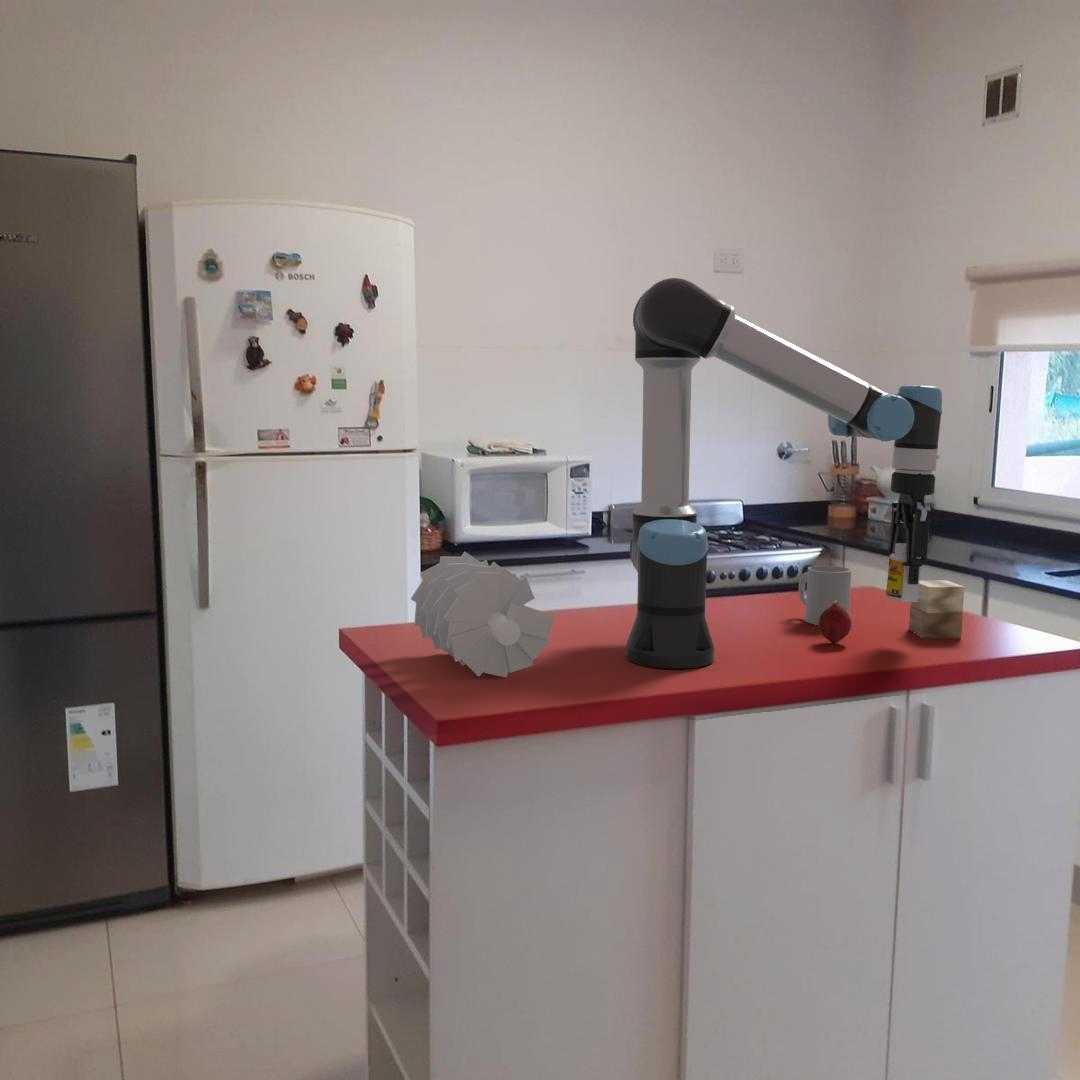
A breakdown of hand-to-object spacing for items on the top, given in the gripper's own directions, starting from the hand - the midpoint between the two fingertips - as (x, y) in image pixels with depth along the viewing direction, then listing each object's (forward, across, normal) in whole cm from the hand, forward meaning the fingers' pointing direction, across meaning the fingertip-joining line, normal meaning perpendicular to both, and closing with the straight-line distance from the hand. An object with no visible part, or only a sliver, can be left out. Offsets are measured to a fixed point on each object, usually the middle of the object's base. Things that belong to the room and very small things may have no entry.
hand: (903, 597), depth 201 cm
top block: (+4, +9, -10) cm, 14 cm away
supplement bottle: (+1, 0, 0) cm, 1 cm away
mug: (+9, +20, +9) cm, 24 cm away
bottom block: (+9, +9, -10) cm, 16 cm away
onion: (+9, 0, +12) cm, 15 cm away
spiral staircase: (+11, -16, +77) cm, 79 cm away
